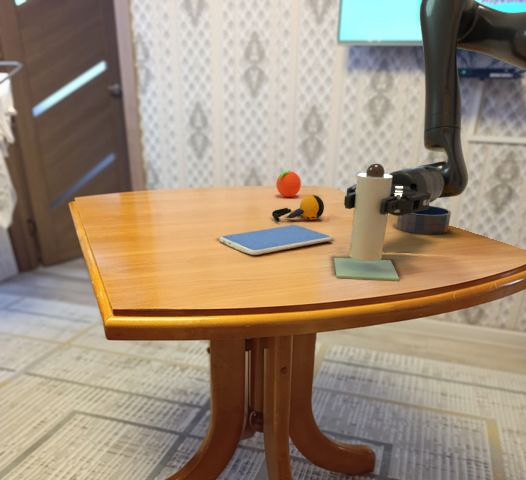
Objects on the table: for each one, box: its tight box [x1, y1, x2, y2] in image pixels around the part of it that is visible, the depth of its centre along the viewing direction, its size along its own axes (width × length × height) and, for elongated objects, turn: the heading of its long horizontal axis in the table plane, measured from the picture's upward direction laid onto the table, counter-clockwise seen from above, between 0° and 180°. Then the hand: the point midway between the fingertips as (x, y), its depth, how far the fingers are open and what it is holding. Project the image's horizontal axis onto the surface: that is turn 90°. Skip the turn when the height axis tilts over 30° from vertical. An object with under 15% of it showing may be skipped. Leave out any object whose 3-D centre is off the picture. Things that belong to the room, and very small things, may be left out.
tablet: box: [219, 224, 333, 256], centre depth 100 cm, size 19×13×1 cm, turn 125°
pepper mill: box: [348, 162, 393, 261], centre depth 82 cm, size 5×5×15 cm
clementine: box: [275, 170, 302, 198], centre depth 142 cm, size 8×7×7 cm
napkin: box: [333, 257, 400, 282], centre depth 86 cm, size 10×10×1 cm
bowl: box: [395, 205, 452, 235], centre depth 111 cm, size 11×11×4 cm
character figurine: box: [271, 194, 325, 222], centre depth 119 cm, size 10×6×12 cm
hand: (364, 204), depth 79 cm, fingers closed on pepper mill, 5 cm apart
